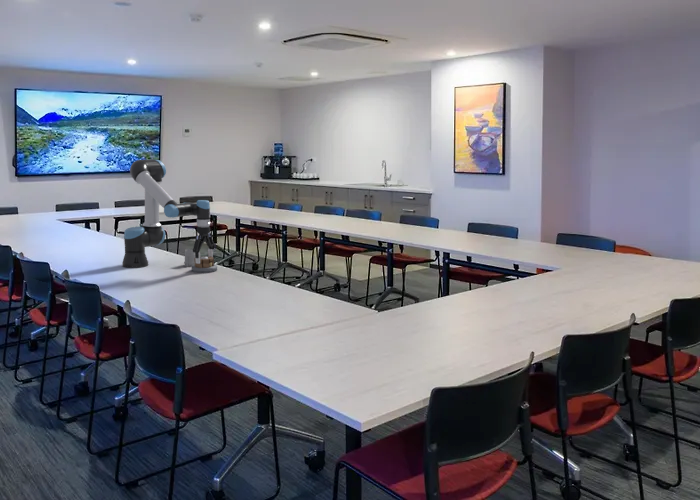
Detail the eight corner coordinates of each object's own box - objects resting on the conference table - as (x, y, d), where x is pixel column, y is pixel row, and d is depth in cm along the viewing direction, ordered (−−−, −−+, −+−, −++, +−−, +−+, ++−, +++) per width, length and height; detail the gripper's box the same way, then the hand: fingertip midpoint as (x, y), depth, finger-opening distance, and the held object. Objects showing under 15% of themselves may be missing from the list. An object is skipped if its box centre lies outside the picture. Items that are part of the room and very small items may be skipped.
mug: (181, 265, 390) (180, 246, 388) (195, 262, 399) (195, 244, 397) (190, 266, 386) (189, 247, 384) (204, 264, 395) (203, 245, 393)
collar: (191, 267, 372) (191, 258, 372) (201, 263, 382) (201, 255, 382) (207, 268, 369) (207, 260, 368) (216, 265, 379) (216, 257, 378)
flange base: (186, 271, 372) (186, 258, 370) (200, 267, 386) (200, 254, 384) (208, 273, 367) (208, 260, 365) (221, 269, 381) (221, 256, 379)
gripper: (197, 229, 359) (198, 265, 362) (220, 224, 382) (220, 258, 386) (186, 228, 361) (186, 264, 365) (209, 223, 385) (210, 257, 388)
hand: (204, 261), depth 375 cm, fingers open, 13 cm apart
